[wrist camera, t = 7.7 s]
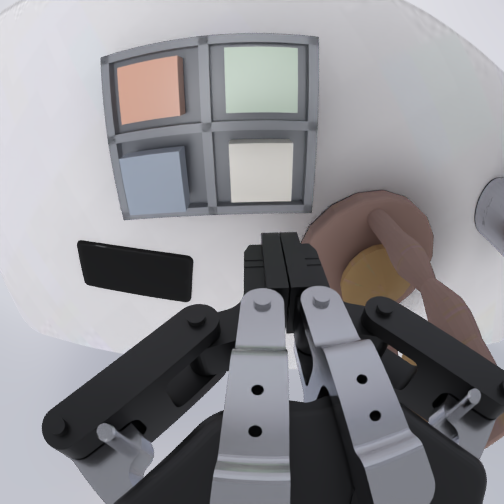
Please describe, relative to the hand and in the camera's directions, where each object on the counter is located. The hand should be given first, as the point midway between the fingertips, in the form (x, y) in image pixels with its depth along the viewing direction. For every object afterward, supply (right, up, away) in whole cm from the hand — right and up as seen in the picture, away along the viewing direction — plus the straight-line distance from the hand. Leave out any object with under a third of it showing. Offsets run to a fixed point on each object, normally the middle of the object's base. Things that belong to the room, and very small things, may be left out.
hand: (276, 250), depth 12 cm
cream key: (0, +7, +11) cm, 13 cm away
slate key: (-9, +6, +10) cm, 15 cm away
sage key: (0, +13, +6) cm, 14 cm away
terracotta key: (-9, +13, +7) cm, 17 cm away
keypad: (-5, +11, +10) cm, 16 cm away
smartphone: (-16, -2, +19) cm, 25 cm away
